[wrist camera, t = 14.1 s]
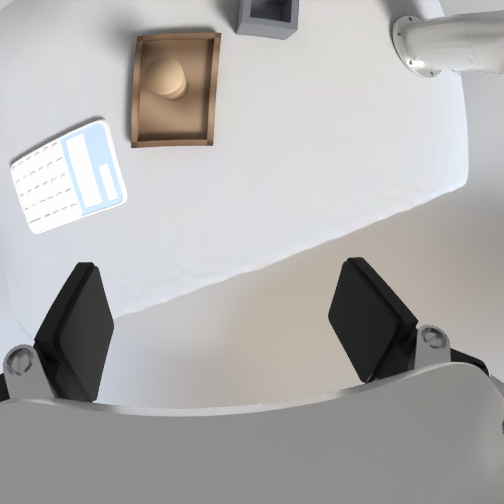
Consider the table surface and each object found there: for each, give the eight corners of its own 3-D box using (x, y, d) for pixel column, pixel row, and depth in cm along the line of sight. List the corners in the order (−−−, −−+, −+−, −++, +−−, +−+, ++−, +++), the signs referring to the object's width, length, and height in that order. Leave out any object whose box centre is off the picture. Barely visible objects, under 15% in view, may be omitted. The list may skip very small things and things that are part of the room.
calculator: (13, 163, 29) (7, 166, 28) (108, 116, 30) (103, 116, 29) (37, 232, 36) (32, 237, 34) (130, 200, 37) (127, 204, 36)
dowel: (189, 75, 29) (183, 56, 19) (187, 99, 31) (181, 92, 21) (162, 76, 28) (145, 59, 18) (161, 101, 30) (142, 94, 20)
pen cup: (287, 3, 25) (299, -10, 21) (284, 40, 29) (297, 30, 24) (240, -4, 24) (246, -19, 20) (236, 34, 28) (241, 22, 23)
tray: (140, 40, 25) (137, 36, 24) (220, 37, 27) (221, 33, 26) (134, 146, 33) (131, 148, 31) (212, 144, 35) (213, 145, 33)
